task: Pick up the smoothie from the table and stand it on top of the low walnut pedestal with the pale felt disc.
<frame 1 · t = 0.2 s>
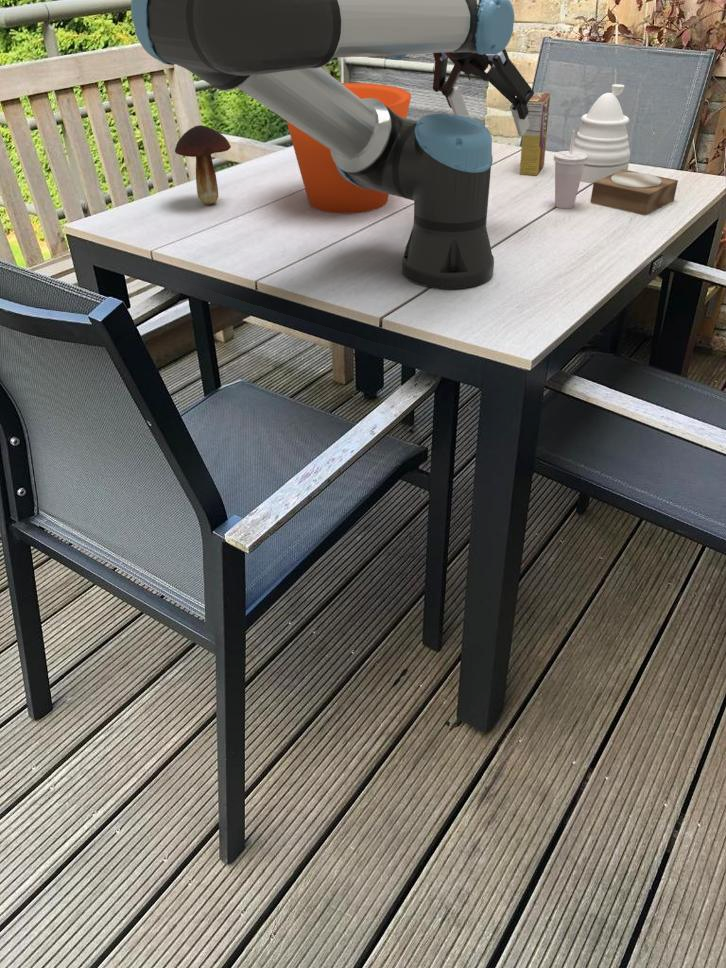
hand: (493, 125, 152), 16 cm above the table, tool tilted 35°, fingers open, 13 cm apart
decorative mushroom: (209, 204, 168), on the table
smoothie: (564, 206, 165), on the table
flowerpot: (347, 201, 169), on the table
candy box: (531, 171, 185), on the table
pedestal: (632, 201, 166), on the table
honey pot: (596, 176, 182), on the table
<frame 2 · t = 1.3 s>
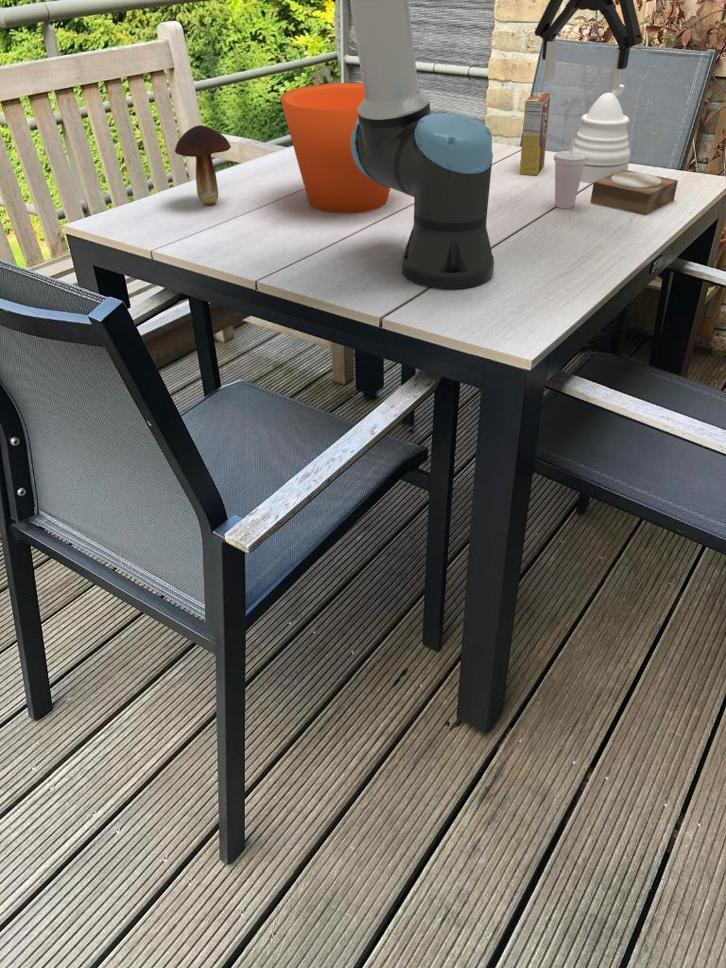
hand: (580, 84, 152), 22 cm above the table, tool pointing down, fingers open, 13 cm apart
nothing on the table moved.
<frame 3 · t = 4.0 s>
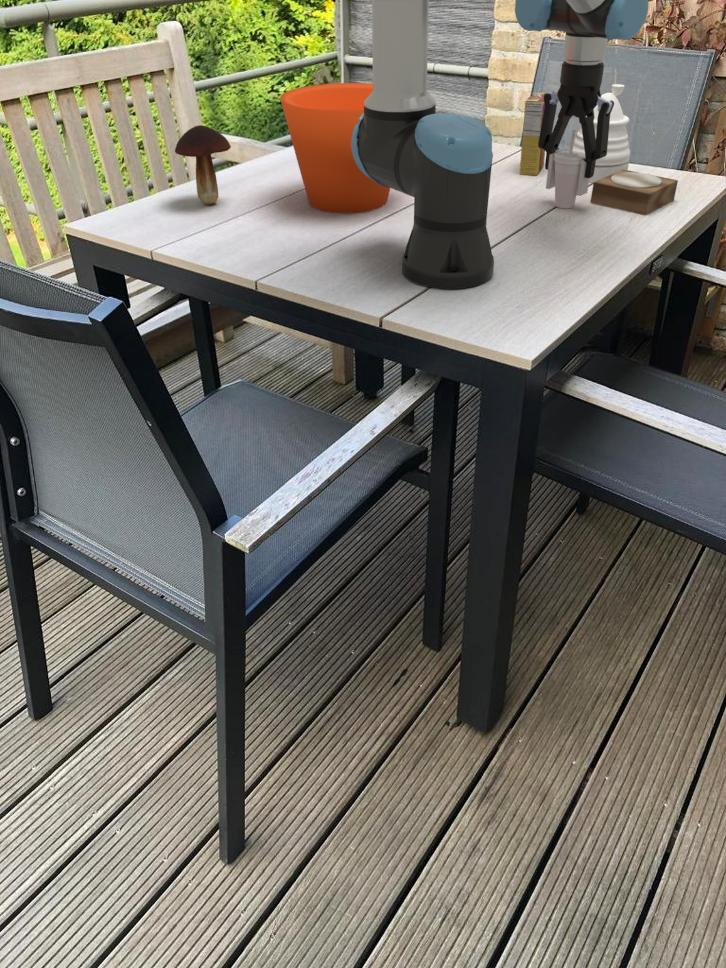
hand: (566, 190, 163), 3 cm above the table, tool pointing down, fingers closed on smoothie, 6 cm apart
smoothie: (564, 206, 165), on the table, touching gripper
everything else where it was.
when the fingers open (9 cm above the table, at t = 9.5 s): smoothie drops 1 cm, resting on pedestal.
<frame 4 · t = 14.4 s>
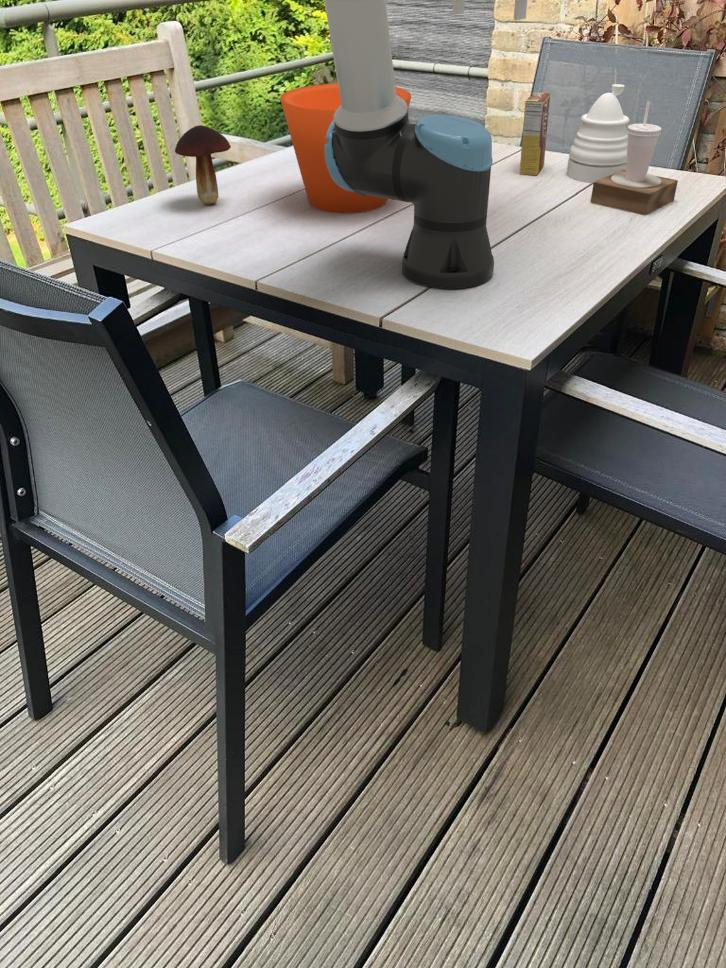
hand: (488, 16, 150), 33 cm above the table, tool pointing down, fingers open, 13 cm apart
smoothie: (635, 180, 164), point 4 cm above the table, touching pedestal
everything else where it was.
at the end: smoothie inside the target area on the pedestal (0.2 cm from its centre), point 4.2 cm above the pedestal's base; smoothie tilted 0°; the gripper is holding nothing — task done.
